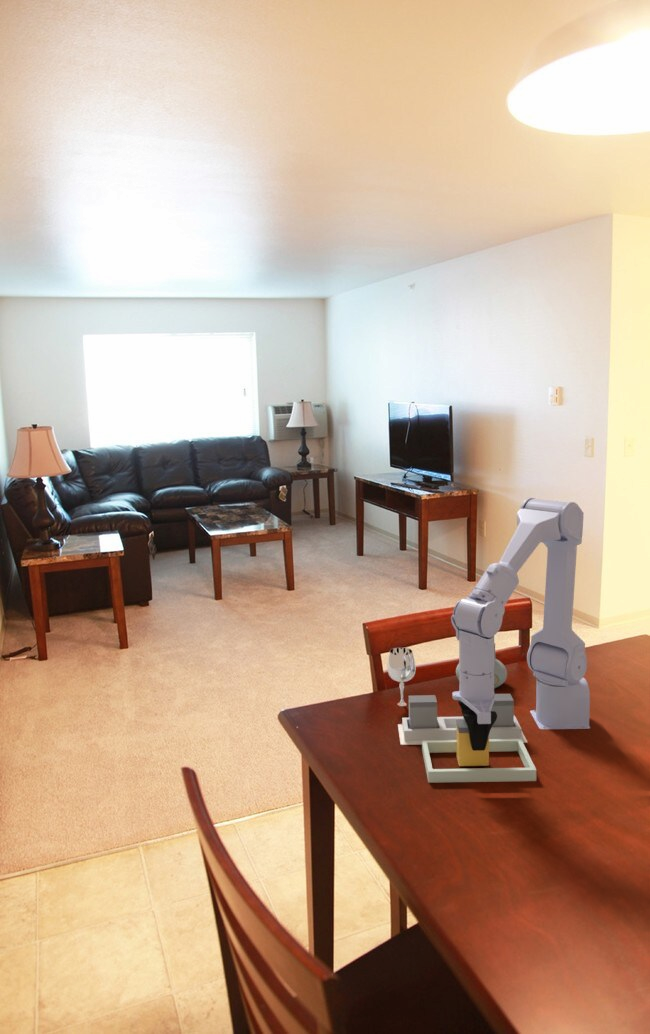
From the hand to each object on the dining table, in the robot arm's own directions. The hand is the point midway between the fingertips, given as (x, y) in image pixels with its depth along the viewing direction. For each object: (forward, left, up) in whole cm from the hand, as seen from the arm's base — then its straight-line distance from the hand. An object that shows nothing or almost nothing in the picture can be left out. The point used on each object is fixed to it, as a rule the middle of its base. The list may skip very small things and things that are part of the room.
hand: (476, 744), depth 121 cm
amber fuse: (+1, 0, -3) cm, 3 cm away
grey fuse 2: (-6, -11, -4) cm, 14 cm away
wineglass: (+11, -24, -5) cm, 27 cm away
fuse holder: (+1, -11, -4) cm, 12 cm away
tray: (0, 0, -4) cm, 4 cm away
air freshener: (-7, -34, -5) cm, 36 cm away
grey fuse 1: (+8, -11, -4) cm, 15 cm away
